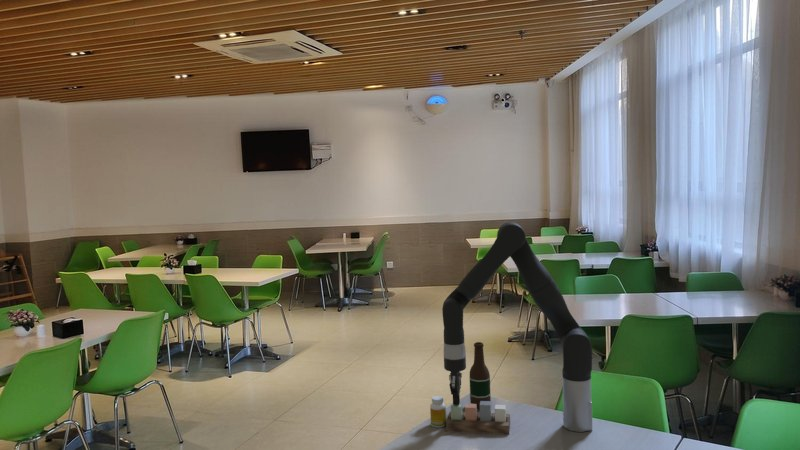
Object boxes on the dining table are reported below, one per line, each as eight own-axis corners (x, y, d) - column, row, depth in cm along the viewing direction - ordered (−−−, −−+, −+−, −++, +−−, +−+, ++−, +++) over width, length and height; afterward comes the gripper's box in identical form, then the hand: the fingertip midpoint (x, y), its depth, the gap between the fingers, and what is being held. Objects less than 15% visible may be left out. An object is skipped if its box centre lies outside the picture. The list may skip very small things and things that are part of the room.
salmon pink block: (477, 420, 212) (476, 403, 212) (476, 424, 209) (475, 407, 208) (466, 420, 213) (466, 403, 213) (465, 424, 210) (465, 407, 209)
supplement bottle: (446, 427, 211) (445, 400, 210) (431, 428, 211) (430, 401, 210) (445, 421, 216) (444, 394, 215) (430, 421, 216) (429, 395, 215)
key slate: (491, 418, 211) (491, 401, 211) (490, 422, 208) (490, 405, 207) (481, 417, 212) (480, 400, 211) (480, 421, 208) (479, 404, 208)
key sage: (462, 419, 213) (462, 403, 213) (461, 424, 210) (460, 407, 209) (452, 419, 214) (451, 402, 214) (451, 423, 211) (450, 406, 210)
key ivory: (506, 422, 210) (505, 405, 210) (505, 426, 207) (505, 409, 206) (495, 421, 211) (495, 404, 210) (495, 425, 207) (494, 408, 207)
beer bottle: (467, 408, 227) (465, 345, 225) (472, 400, 234) (470, 339, 232) (488, 410, 224) (486, 346, 222) (492, 402, 231) (491, 340, 229)
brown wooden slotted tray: (510, 422, 213) (510, 413, 213) (509, 434, 203) (508, 425, 203) (450, 419, 218) (450, 411, 217) (446, 431, 208) (446, 422, 208)
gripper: (463, 361, 203) (465, 412, 204) (467, 349, 216) (469, 397, 217) (440, 361, 204) (442, 411, 206) (446, 349, 217) (448, 396, 219)
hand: (456, 404), depth 211 cm, fingers closed
